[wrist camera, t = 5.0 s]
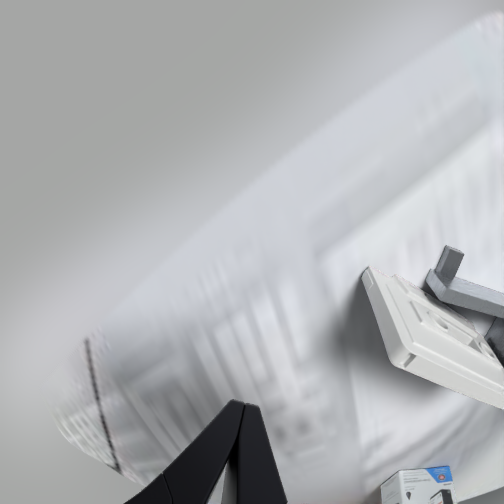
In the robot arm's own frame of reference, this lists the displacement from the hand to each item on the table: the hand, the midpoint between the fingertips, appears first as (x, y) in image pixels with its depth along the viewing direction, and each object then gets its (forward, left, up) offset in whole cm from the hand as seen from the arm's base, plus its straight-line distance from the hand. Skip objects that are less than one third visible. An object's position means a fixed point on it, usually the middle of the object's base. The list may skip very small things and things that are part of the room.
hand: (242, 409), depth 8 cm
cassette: (-11, 0, -10) cm, 15 cm away
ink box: (-25, +23, -10) cm, 36 cm away
